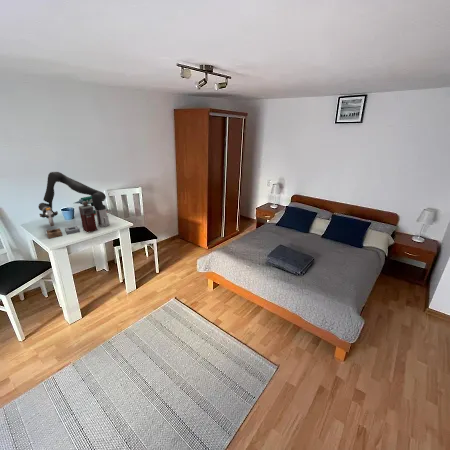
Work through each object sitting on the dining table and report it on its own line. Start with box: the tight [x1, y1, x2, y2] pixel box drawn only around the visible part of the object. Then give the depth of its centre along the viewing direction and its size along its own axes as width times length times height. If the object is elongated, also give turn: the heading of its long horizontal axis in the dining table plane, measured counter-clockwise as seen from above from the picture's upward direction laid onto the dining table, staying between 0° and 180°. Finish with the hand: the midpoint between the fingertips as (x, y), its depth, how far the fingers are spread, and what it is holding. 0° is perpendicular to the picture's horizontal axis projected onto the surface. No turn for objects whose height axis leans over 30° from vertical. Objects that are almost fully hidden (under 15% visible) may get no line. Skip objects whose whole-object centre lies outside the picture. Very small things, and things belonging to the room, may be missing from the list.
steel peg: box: [46, 208, 55, 227], centre depth 209 cm, size 3×3×16 cm
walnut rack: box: [46, 227, 63, 239], centre depth 215 cm, size 10×10×4 cm
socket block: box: [64, 225, 80, 235], centre depth 224 cm, size 10×10×3 cm
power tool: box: [74, 195, 108, 216], centre depth 264 cm, size 32×7×20 cm, turn 143°
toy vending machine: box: [78, 201, 98, 233], centre depth 223 cm, size 9×11×28 cm
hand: (50, 216), depth 207 cm, fingers closed on steel peg, 3 cm apart
